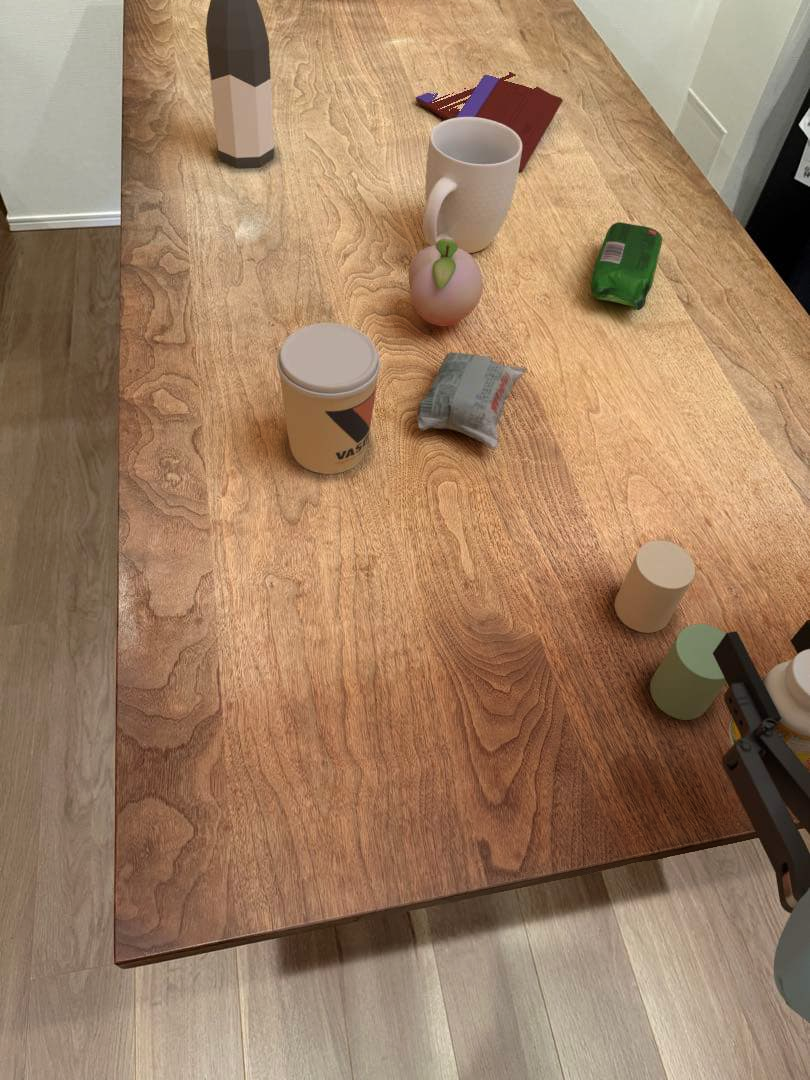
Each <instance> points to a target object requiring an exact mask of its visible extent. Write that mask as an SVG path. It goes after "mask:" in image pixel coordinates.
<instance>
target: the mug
mask: <svg viewBox="0 0 810 1080" xmlns="http://www.w3.org/2000/svg"><path fill="white" fill-rule="evenodd" d="M521 153H522V142H521V139H520V137H519V136H518V135H517V134H516V133H515V132H514V131H513V130H512V129H510V128H509V127H507V126H505V125H503V124H501V123H498V122H496V121H492V120H488V119H484V118H478V117H458V118H452V119H449V120H443V121H441V122H439V123H437V124H436V125H435V126H434V127H432V129H431V132H430V133H429V140H428V150H427V154H426V155H427V156H426V166H425V167H426V169H425V186H424V189H425V190H424V191H425V193H424V194H425V195H424V196H425V200H426V201H425V207H424V211H423V219H422V231H423V237H424V240H425V241H426V243H427V244H428V245H430V246H432V245H436V243H437V242H438V241H439V240H441V239H443V238H446V239H451V240H453V241H455V242H456V244H457V245H458V248H459V249H462V250H464V251H466V252H467V253H469V254H473V253H474V254H475V253H477V252H480V251H482V250H484V249H485V248H487V247H488V246H489V244H491V243H492V242H493V240H494V239H495V238H496V237H497V235H498V233H500V231H501V229H502V227H503V226H504V224H505V221H506V218H507V217H508V214H509V211H510V210H511V209H510V208H511V206H512V203H513V199H514V195H515V191H516V185H517V183H518V182H517V181H518V175H519V172H520V171H519V166H520V159H521Z"/></svg>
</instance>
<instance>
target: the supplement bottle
mask: <svg viewBox="0 0 810 1080" xmlns="http://www.w3.org/2000/svg"><path fill="white" fill-rule="evenodd" d="M762 681H763V683H764V685H765V687H766V689H767V691H768V693H769V695H770V697H771V699H772V701H773V703H774V705H775V706H776V708H777V710H778V712H779V714H780V716H781V719H780V720H779V721H778V723H779V724H778V725H777V726H776V727H775V728H774V729H775V730H776V732H777V733H778V734H779V735H780V737H781V738H782V739H783V740H784V741H785V743H786V744H787V745H788V746H789V748H790V749H791V750H792V751H793V752H794V754H795V755H796V756H797V757H798V758H799V760H800V761H801V762H802V763H803V765H805V763H806V762H807V761H808V760H809V759H810V649H808V650H804V651H802V652H800V653H799V654H796V655H795V656H794V657H793V658H792V659H791V660H788V661H783V662H780V663H779V664H776V665H775V666H773V667H772V668H771V669H770V670H768V672H767V673H766V674H765V676H764V677H763V678H762ZM731 718H732V717H731ZM728 738H729V742H730V745H731V747H732V746H733V744H734V743H735V742H736V741H737V740H738V739H740V738H741V735H740V733H739V730H738V728H737V726H736V724H735V722H734V720H733V718H732V719H731V720H730V722H729V725H728Z"/></svg>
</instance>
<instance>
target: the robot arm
mask: <svg viewBox="0 0 810 1080" xmlns="http://www.w3.org/2000/svg"><path fill="white" fill-rule="evenodd" d="M725 633H726V635H725V636H724V637H723V639H722V640H721V642H720V643H719V645H718V646H717V648H716V649H715V650H714V652H713V655H714V657H715V659H716V661H717V663H718V665H719V667H720V670H721V672H722V674H723V676H724V678H725V680H726V682H727V683H726V685H727V686H728V688H727V689H726V691H725V692H724V693H723V700H724V703H725V705H726V708H727V709H728V711H729V714H730V715H731V718H733V720H734V722H735V724H736V726H737V728H738V730H739V733H740V735H741V738H740V739H738V740H737V741H736V742H735V743H734V744H733V746H732V745H731V747H730V748H728V750H727V751H726V752H725V753H724V755H723V756H722V757H721V763H722V766H723V769H724V771H725V772H726V774H727V776H728V779H729V781H730V784H731V785H732V787H733V789H734V791H735V793H736V795H737V797H738V799H739V801H740V803H741V805H742V807H743V810H744V811H745V814H746V815H747V817H748V819H749V822H750V824H751V826H752V828H753V830H754V832H755V834H756V836H757V838H758V840H759V842H760V844H761V846H762V849H763V850H764V852H765V854H766V857H767V858H768V860H769V863H770V865H771V866H772V868H773V870H774V873H775V879H776V887H777V892H778V898H779V904H780V906H781V907H782V909H783V910H784V911H785V912H787V913H789V914H790V915H789V917H788V919H787V921H786V922H785V925H784V927H783V929H782V931H781V934H780V937H779V939H778V942H777V945H776V949H775V953H774V957H773V978H774V983H775V986H776V988H777V991H778V993H779V995H780V997H781V998H782V1000H784V1002H785V1005H787V1007H789V1008H790V1009H791V1010H792V1011H793V1012H795V1014H797V1015H798V1016H800V1017H801V1018H802V1019H803V1020H804V1021H806V1022H807V1023H809V1024H810V851H809V848H808V846H807V844H806V842H805V840H804V838H803V836H802V834H801V833H800V830H799V828H798V826H797V825H796V823H795V821H794V819H793V817H792V816H791V813H792V814H793V816H794V817H795V818H796V819H797V821H798V822H799V823H800V825H801V826H802V827H803V829H804V830H805V831H806V833H808V834H809V835H810V771H809V769H808V768H807V767H806V765H805V764H803V763H802V762H801V761H800V760H799V758H798V757H797V756H796V755H795V754H794V752H793V751H792V750H791V749H790V748H789V746H788V745H787V744H786V743H785V741H784V740H783V739H782V738H781V737H780V735H779V734H778V733H777V732H776V730H775V729H774V728H775V727H776V726H777V725H778V724H779V723H778V721H779V720H780V719H781V716H780V714H779V712H778V710H777V708H776V706H775V705H774V703H773V701H772V699H771V697H770V695H769V693H768V691H767V689H766V687H765V685H764V683H763V681H762V680H763V678H762V677H761V675H760V673H759V671H758V670H757V668H756V666H755V663H754V661H753V659H752V658H751V656H750V654H749V652H748V650H747V648H746V646H745V644H744V642H743V641H742V639H741V636H740V635H739V633H738V631H737V630H735V631H729V632H725ZM790 643H791V645H792V646H793V648H794V650H795V651H796V653H797V654H799V653H800V652H802V651H804V650H808V649H810V619H807V620H806V621H804V623H803V624H802V625H801V627H800V628H799V629H798V630H797V632H796V633H795V634H794V636H793V637H792V638H791V639H790ZM797 654H796V655H797ZM788 809H789V810H788ZM789 811H790V812H791V813H790V812H789Z"/></svg>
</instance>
